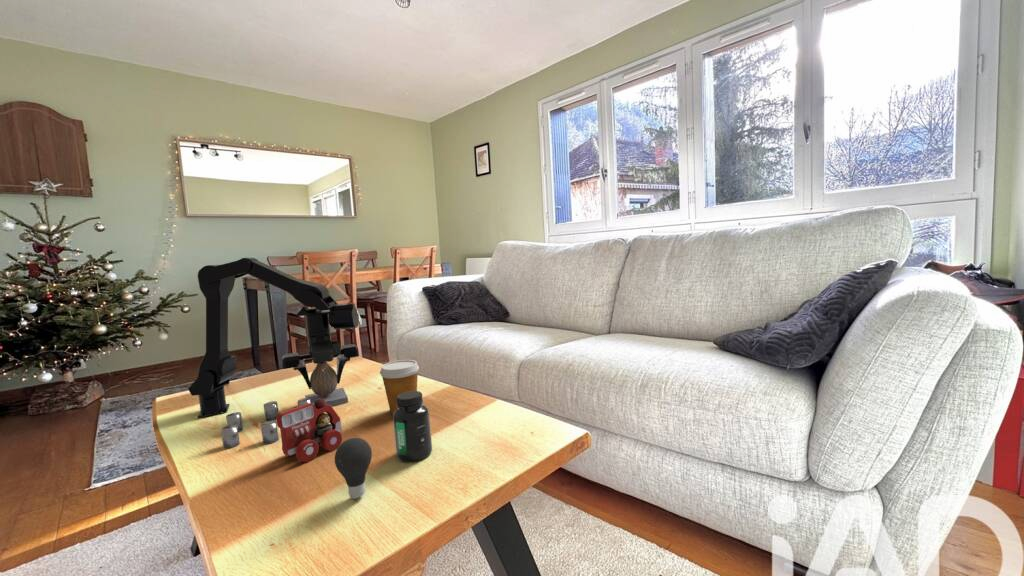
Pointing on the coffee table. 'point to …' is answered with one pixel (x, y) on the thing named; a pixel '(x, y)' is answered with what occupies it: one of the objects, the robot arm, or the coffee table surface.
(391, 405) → the disposable coffee cup
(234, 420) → the spacer posts
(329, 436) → the toy fire truck
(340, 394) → the mat
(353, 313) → the robot arm
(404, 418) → the supplement bottle
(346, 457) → the light bulb
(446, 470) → the coffee table surface
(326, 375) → the brown textured oval
